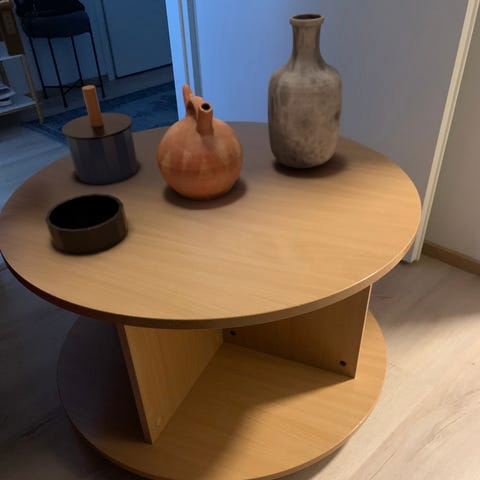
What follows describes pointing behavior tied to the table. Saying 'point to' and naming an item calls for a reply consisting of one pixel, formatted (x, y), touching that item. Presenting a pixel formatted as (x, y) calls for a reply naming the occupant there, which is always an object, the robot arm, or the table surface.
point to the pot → (104, 158)
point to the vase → (304, 100)
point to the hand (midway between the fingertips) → (9, 47)
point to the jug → (199, 152)
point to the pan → (87, 223)
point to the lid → (95, 120)
